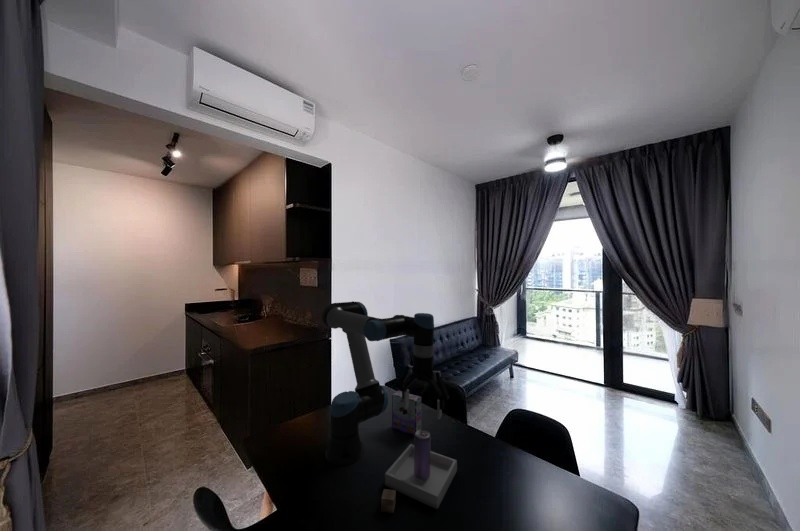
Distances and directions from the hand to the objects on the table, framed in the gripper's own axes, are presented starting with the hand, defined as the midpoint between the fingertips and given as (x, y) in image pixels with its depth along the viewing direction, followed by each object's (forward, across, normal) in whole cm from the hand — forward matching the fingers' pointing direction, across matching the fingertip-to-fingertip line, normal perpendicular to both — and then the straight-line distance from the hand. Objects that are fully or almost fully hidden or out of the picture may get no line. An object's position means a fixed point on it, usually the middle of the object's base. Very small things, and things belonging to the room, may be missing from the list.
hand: (422, 412), depth 101 cm
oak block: (+24, -4, -17) cm, 29 cm away
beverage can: (+23, 0, 0) cm, 23 cm away
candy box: (+24, -20, +25) cm, 40 cm away
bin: (+24, 0, 0) cm, 24 cm away
